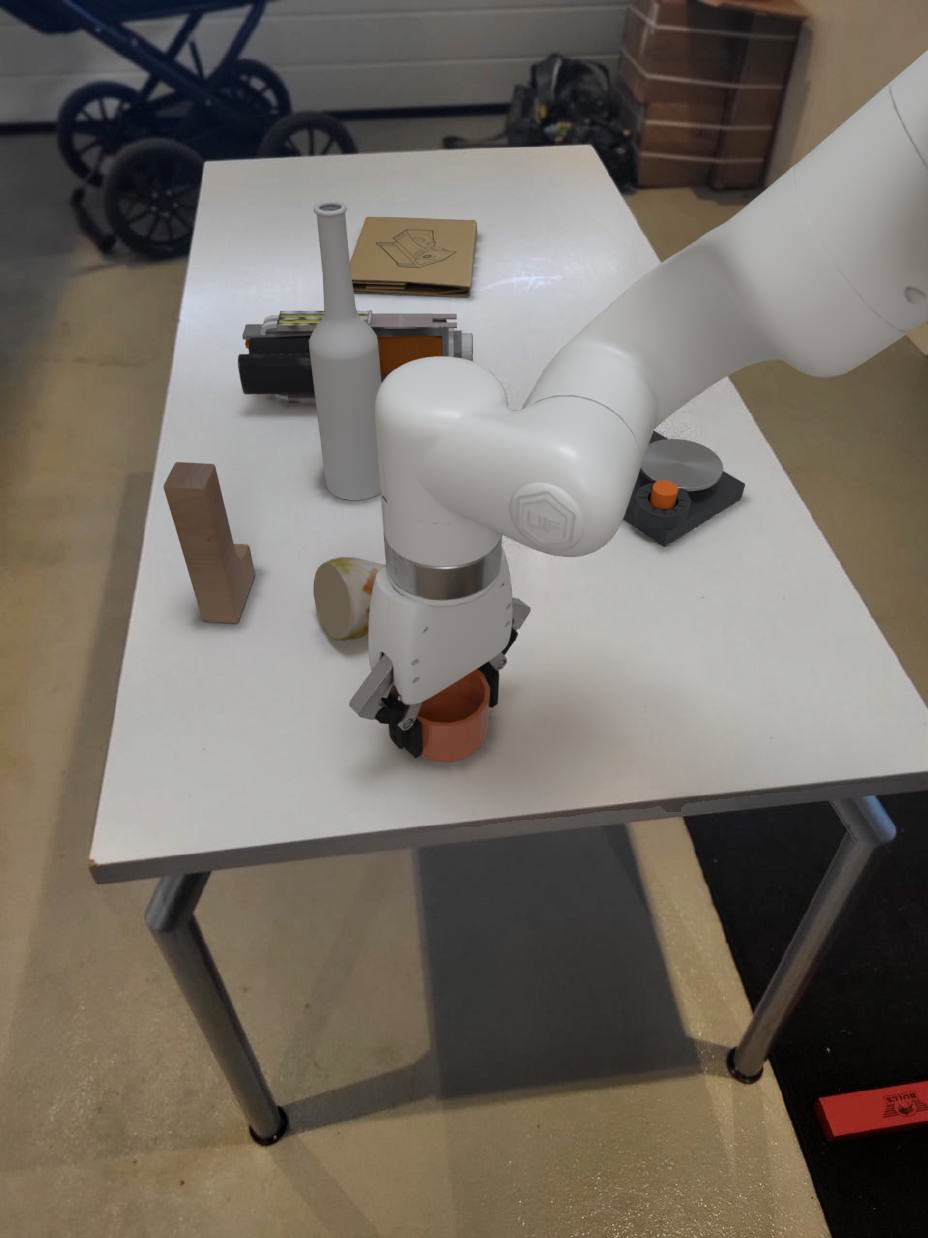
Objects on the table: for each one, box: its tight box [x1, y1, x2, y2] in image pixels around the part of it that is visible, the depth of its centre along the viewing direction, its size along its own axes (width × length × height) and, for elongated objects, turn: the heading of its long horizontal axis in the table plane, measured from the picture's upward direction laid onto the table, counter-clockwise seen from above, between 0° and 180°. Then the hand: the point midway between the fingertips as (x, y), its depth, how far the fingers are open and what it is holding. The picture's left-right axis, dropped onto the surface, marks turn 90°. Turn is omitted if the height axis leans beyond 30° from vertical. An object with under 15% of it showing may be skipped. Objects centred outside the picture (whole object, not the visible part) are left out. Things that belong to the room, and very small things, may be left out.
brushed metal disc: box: [640, 438, 724, 491], centre depth 89 cm, size 8×8×1 cm
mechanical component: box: [237, 309, 474, 404], centre depth 100 cm, size 9×26×10 cm, turn 91°
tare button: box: [650, 480, 678, 509], centre depth 85 cm, size 2×2×2 cm
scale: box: [623, 430, 746, 547], centre depth 91 cm, size 14×13×4 cm
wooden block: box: [162, 461, 256, 624], centre depth 75 cm, size 7×3×15 cm, turn 176°
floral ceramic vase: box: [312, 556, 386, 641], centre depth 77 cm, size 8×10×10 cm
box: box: [350, 216, 478, 298], centre depth 129 cm, size 21×18×2 cm
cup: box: [399, 669, 490, 763], centre depth 69 cm, size 7×7×4 cm
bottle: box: [309, 199, 381, 501], centre depth 83 cm, size 7×7×28 cm
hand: (445, 718), depth 69 cm, fingers closed on cup, 6 cm apart
